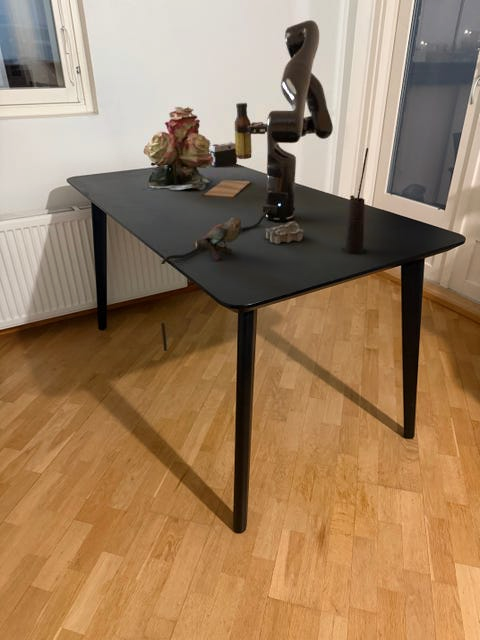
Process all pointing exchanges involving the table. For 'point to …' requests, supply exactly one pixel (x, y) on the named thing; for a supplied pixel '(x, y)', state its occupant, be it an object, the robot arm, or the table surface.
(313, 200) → the table surface
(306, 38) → the robot arm
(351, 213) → the butter churn
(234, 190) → the flat copper plate
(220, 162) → the camera
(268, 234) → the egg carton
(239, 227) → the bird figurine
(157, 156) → the rose bouquet
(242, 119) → the sauce bottle
